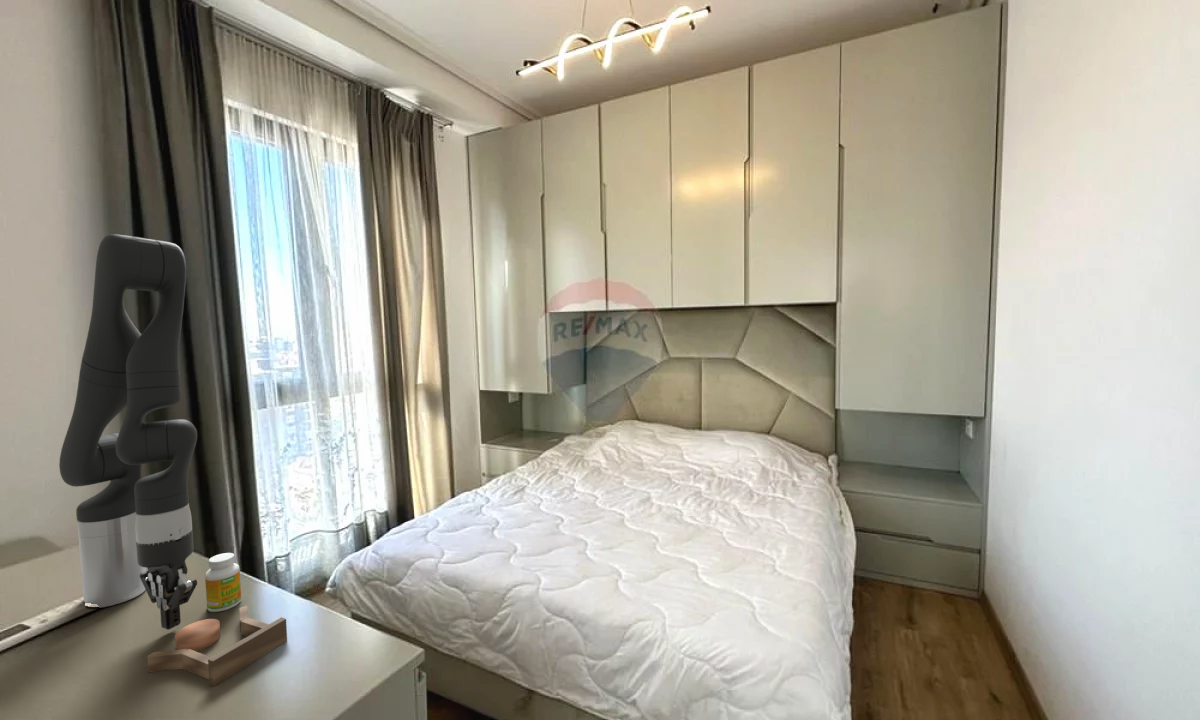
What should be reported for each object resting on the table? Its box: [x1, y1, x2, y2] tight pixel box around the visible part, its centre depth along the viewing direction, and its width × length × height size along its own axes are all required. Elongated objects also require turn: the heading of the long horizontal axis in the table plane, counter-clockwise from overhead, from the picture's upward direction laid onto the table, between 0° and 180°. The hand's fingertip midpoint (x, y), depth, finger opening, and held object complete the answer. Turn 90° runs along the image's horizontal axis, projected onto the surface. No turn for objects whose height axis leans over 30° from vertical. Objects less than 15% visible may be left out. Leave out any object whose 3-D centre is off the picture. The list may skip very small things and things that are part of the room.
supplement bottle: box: [204, 552, 242, 613], centre depth 97 cm, size 5×5×10 cm
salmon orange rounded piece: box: [174, 618, 221, 652], centre depth 86 cm, size 6×6×2 cm
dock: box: [146, 605, 288, 687], centre depth 83 cm, size 14×15×4 cm
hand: (171, 626), depth 88 cm, fingers closed
